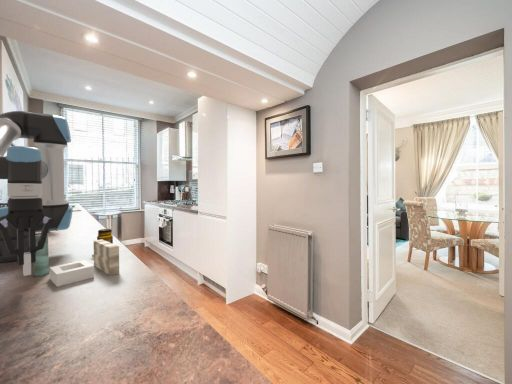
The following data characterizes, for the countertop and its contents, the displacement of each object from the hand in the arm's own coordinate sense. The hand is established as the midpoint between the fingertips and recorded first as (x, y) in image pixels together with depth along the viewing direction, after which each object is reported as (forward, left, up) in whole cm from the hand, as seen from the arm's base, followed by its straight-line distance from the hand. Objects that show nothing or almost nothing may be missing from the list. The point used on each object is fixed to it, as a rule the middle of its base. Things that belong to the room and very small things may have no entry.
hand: (27, 274), depth 71 cm
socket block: (0, +11, -5) cm, 12 cm away
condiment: (-21, +27, -5) cm, 35 cm away
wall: (-1, +22, -5) cm, 22 cm away
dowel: (-13, +5, -5) cm, 15 cm away
